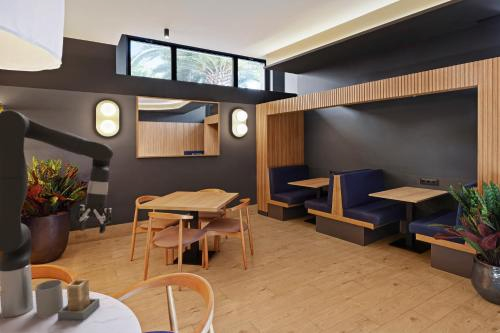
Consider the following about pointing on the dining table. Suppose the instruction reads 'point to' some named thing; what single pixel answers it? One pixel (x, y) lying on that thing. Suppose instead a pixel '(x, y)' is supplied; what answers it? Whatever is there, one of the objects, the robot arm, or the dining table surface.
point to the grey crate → (78, 312)
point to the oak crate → (78, 295)
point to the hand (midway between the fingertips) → (91, 231)
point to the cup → (49, 297)
